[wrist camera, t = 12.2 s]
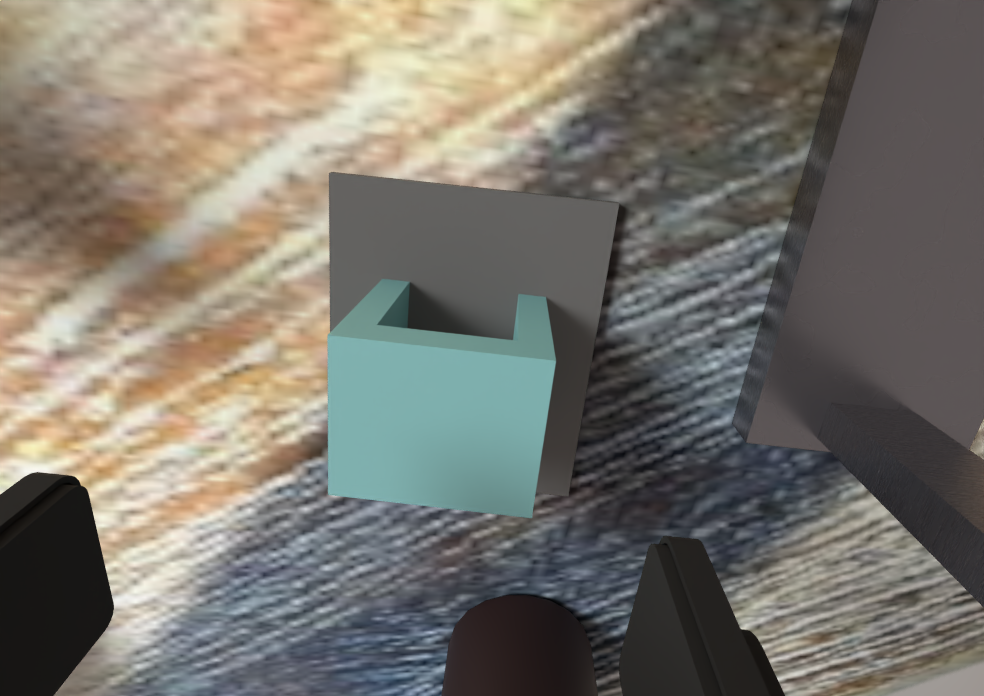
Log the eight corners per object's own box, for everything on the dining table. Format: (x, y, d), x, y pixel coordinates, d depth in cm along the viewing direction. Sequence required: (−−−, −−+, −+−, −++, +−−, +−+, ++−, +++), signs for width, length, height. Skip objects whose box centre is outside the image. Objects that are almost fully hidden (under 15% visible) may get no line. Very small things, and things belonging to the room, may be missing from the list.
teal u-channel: (382, 278, 20) (327, 334, 15) (545, 296, 20) (556, 361, 14) (378, 401, 22) (328, 494, 16) (528, 418, 22) (531, 518, 16)
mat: (332, 172, 19) (329, 172, 19) (617, 202, 19) (619, 203, 19) (334, 465, 24) (331, 470, 23) (567, 491, 24) (567, 496, 23)
